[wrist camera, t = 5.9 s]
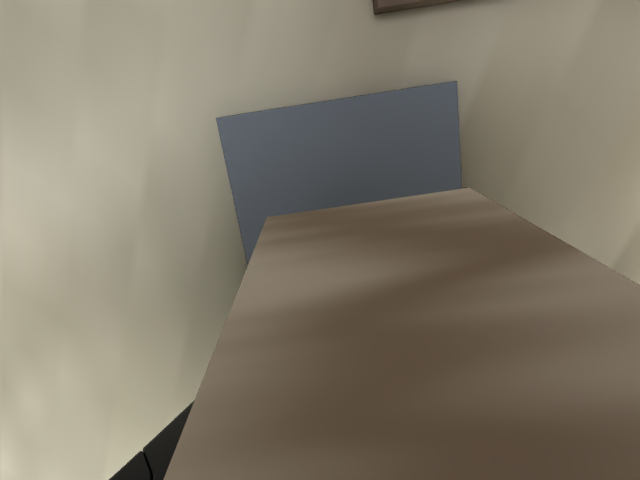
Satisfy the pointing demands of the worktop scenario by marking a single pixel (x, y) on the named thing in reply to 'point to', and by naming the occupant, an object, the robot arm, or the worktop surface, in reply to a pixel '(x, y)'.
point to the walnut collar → (402, 4)
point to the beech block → (419, 353)
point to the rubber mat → (341, 153)
